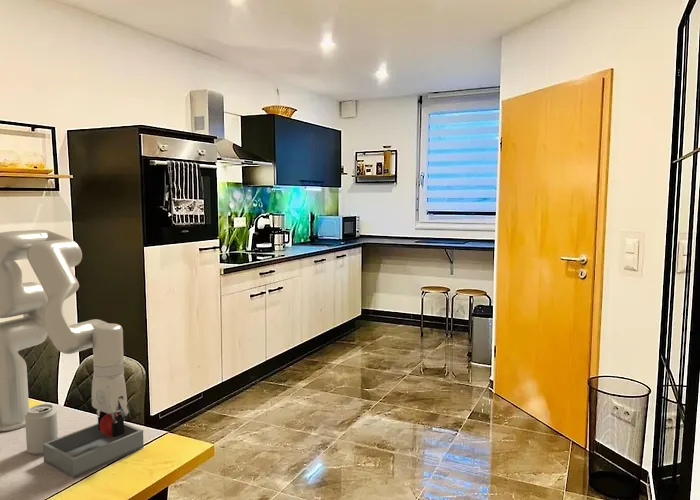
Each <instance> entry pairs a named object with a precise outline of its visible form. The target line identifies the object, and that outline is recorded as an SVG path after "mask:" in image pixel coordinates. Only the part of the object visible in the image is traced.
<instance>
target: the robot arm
mask: <svg viewBox="0 0 700 500" xmlns="http://www.w3.org/2000/svg"><path fill="white" fill-rule="evenodd" d="M82 259H83V252H82V249H81V246H79V244H78V243H77V242H76V241H75V240H73V239H72V238H69V237H66V236H63V235H60V234H59V233H56V232H53V231H50V230H48V229H47V230H45V229H31V230H11V231H4V232H3V231H2V232H0V319H8V318H12V317H18V316H22V317H19V318H15V319H10V320H5V321H1V322H0V432H7V431H15V430H17V429H21V428H24V427H26V425H25V415H26V414H27V413H28V412H27V410H28V409H29V408H30V404H29V386H28V385H29V384H28V370H27V367H28V366H27V363H26V362H27V361H25V359H24V358H23V357H22V356H21V354H19V351H22V350H25V349H28V348H31V347H34V346H37V345H41V344H42V343H44V342H45V341H46V340H47V337H48V336H49V338H50V340H51V342H52V343H53V345H54V347H55V348H56V349H57V351H59V352H60V353H62V354H65V355H70V354H71V355H72V354H77V353H79V352H81V351H86V350H87V349H91V348H92V353H93V355H92V356H93V361H92V362H93V376H92V382H91V406H92V408H94V409H95V411H96V416H97V423H98V430H99V431H100V421H101V419H102V418H103V417H104V416H105V415H106V414H112V418H113V422H114V423H112V436H113V437H116V436H119V435H121V434H123V433H124V423H125V420H126V417H127V416H128V414H129V413H130V411H129V409H128V407H127V405H128V404H127V401H128V397H127V396H128V395H127V388H126V387H127V386H126V379H125V375H124V374H125V362H124V361H125V360H124V355H125V354H124V330H123V327H122V325H120V324H118V323H108V322H107V321H104V320H102V319H97V318H95V319H94V318H93V319H89V320H86V321H81V322H76V323H73V324H70V325H69V323H68V321H67V320H66V318H65V315H64V312H63V305H64V302H65V300H67V299H69V298H70V297H72V296H73V295H74V294H75V293H76V292H77V291H78V290H79V288H80V284H79V281H78V279H77V277H76V276H75V274H74V272H73V270H72V267H76V266H79V265H80V263H81V261H82ZM19 260H20V261H21V260H28V262H29V264H30V266H31V268H32V270H33V272H34V274H35V276H36V278H37V280H38V282H39V283H38V282H33V281H31V282H30V281H29V282H28V281H27V282H23V271H22V268H21V267H20V266H19V264H18V263H17V262H16V261H19ZM116 413H117V414H118V413H119V414H118V416H117V417H116Z"/></svg>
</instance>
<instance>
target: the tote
mask: <svg viewBox="0 0 700 500" xmlns="http://www.w3.org/2000/svg"><path fill="white" fill-rule="evenodd" d="M143 448H144V430H143V429H140V428H137V427H135V426H133V425H131V424H129V423H126V422H124V433H123V434H121V435H119V436H116V437H113V438H109V437H108V436H106V435H104V434H103V433H102V432H101V431H99V430H98V422H97V423H95V424H92V425H89V426H87V427H84V428H82V429H79V430H76V431H73V432H71V433H68V434H65V435H63V436H60V437H58V438H57V439H54V440H52V441H49V442H46V443H44V444H43V454H42V455H43V463H45V464H47V465H48V466H50V467H52V468H53V469H55V470H57V471H59V472H61V473H62V474H64V475H66V476H68V477H69V478H71V479H73V480H75V479H77V478H80V477H82V476H83V475H86V474H89V473H91V472H92V471H95V470H97V469H100V468H102V467H104V466H106V465H108V464H110V463H113V462H115V461H117V460H119V459H122V458H125V456H128V455H131V454H133V453H135V452H137V451H140V450H142V449H143Z"/></svg>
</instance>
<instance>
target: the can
mask: <svg viewBox="0 0 700 500" xmlns="http://www.w3.org/2000/svg"><path fill="white" fill-rule="evenodd" d="M27 412H28V413H27V414H26V415H25V425H26V426H25V440H26V452H28V453H30V454H31V455H35V456H36V455H37V456H38V455H43V444H44V443H46V442H49V441H52V440H54V439H57V438H59V434H58V433H59V432H58V430H59V429H58V414H57V413H58V412H57V409H56V408H54V405H53V404H50V403H41V404H37V405H34V406H31V407H29V409H28V410H27Z"/></svg>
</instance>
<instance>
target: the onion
mask: <svg viewBox="0 0 700 500" xmlns="http://www.w3.org/2000/svg"><path fill="white" fill-rule="evenodd" d="M118 415H119V414H118V413H116V417H117V416H118ZM112 423H114V422H113V418H112V414H106V415H105V416H104V417H103V418H102V419H101V421H100V431H101V432H102V433H103V434H104V435H106V436H108V437H109V438H113V436H112Z"/></svg>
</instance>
